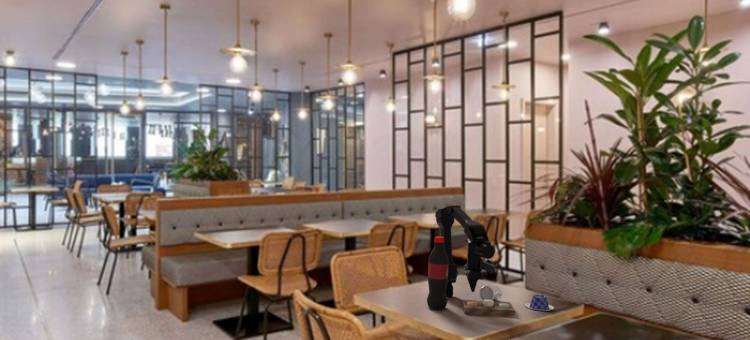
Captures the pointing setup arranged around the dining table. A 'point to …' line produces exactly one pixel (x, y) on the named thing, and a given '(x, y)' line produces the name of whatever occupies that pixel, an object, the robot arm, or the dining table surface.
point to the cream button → (488, 303)
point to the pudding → (539, 303)
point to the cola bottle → (437, 276)
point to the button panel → (488, 309)
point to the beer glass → (490, 292)
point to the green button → (504, 305)
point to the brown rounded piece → (472, 303)
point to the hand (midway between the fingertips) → (472, 291)
